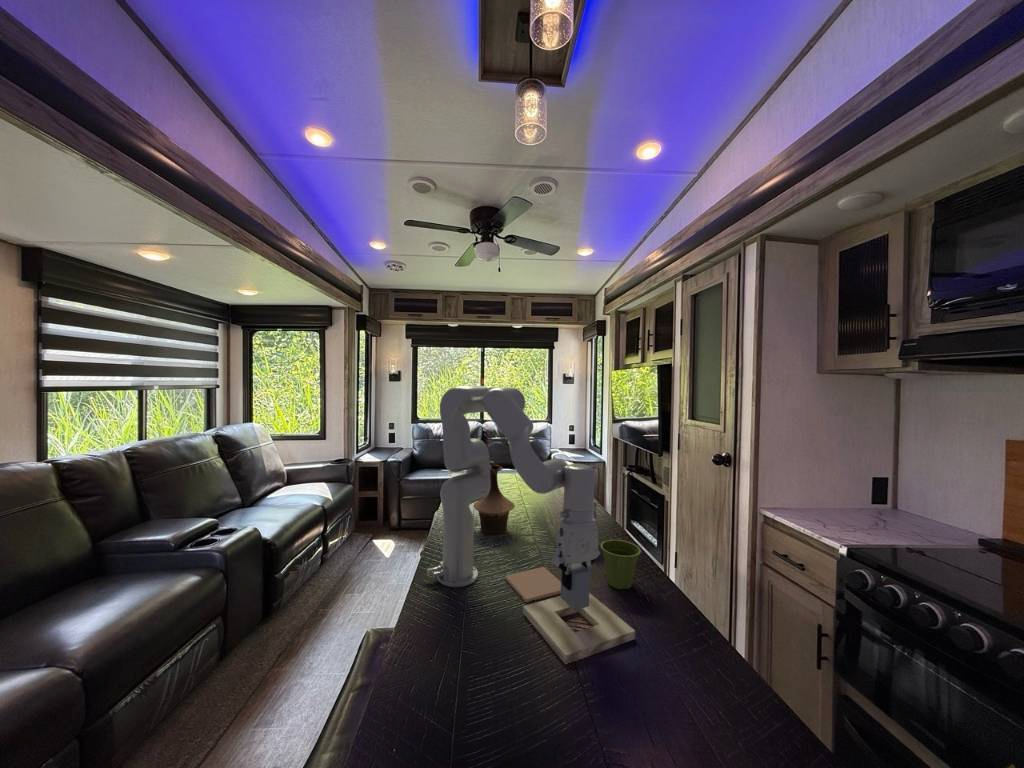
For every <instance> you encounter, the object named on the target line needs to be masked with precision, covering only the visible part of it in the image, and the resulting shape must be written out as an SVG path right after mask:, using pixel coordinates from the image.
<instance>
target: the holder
mask: <svg viewBox="0 0 1024 768" xmlns="http://www.w3.org/2000/svg"><path fill="white" fill-rule="evenodd" d="M560 596H561V595H558V596H554V597H551V598H547V599H545V600H541V601H537V602H533V603H529V604H526V605H522V606H523V607H522V614H523V615H524V617H525V618H526V617H527V618H526V619H527V620H528V621H529V623H531V625H532V626H533V627H534V628H535V629H536V631H537V632H538V633H539V634H540V636H541V637H542V638H543V639H544V641H545V642H546V643H547V644H548V646H550V648H551V649H552V651H554V652H555V654H556V655H557V656H558V658H559V659H560V660H561V661H562V662H563V664H564V665H565V664H566V665H569V664H571V662H572V663H574V662H576V661H579V659H580V660H582V659H585V658H587V657H591V656H592V655H595V654H596V655H597V654H598V653H601V652H603V651H606V650H609V649H612V648H615V647H617V646H620V645H622V644H625V643H627V642H630V641H633V640H635V639H636V630H635V629H634V628H633V627H632V626H630V625H629V624H628V623H626V622H625V621H624V620H623V619H622V618H620V617H619V615H617V614H616V613H614V612H613V611H612V610H611V609H609V608H608V607H607V606H606V604H604V603H602V602H601V601H600V600H599V599H597V598H596V597H595V596H594V595H592V594H591V593H590V592H589V606H588V607H585V608H581V609H578V610H573V609H572V608H571V607H570V606H569V605H568V604H567V603H566V602H565V601H564V600H563V599H562V598H561V597H560ZM576 613H578V614H579V615H581V616H582V617H583V618H584V619H585V620H586V621H587V622H588V623H589V624H590V625H591V627H588V628H584V629H581V630H578V631H576V632H575V631H574V630H573V629H572V628H571V627H570V626H569V625H568V624H567V623H566V622H565V620H563V619H562V617H563V618H564V617H566V616H569V615H574V614H576ZM568 663H569V664H568Z"/></svg>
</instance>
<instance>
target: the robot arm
mask: <svg viewBox="0 0 1024 768" xmlns="http://www.w3.org/2000/svg"><path fill="white" fill-rule="evenodd" d="M525 406H526V399H525V396H524V393H522V391H521V390H519V389H518V388H515V387H506V386H505V387H503V386H492V385H491V386H489V385H459V386H454V387H452V388H449V389H448V390H446V391H445V392H444V394H443V395H442V397H441V399H440V403H439V416H440V420H441V426H442V448H443V462H444V465H445V468H446V470H448V471H449V472H451V473H460V472H463V471H466V473H462V474H459V475H455V476H453V477H450V478H448V479H447V480H445V481H444V482H443V484H441V488H440V494H439V495H440V500H441V501H440V502H441V506H442V513H443V514H442V518H443V519H442V520H443V521H442V523H443V524H442V528H443V529H442V533H443V534H442V560H441V561H439V565H436V566H433V567H428V568H427V569H426V574H427V576H431V575H433V578H437V580H438V582H439V584H441V585H443V586H446V587H449V588H450V587H452V588H462V587H466V586H469V585H472V584H474V583H475V582H476V580H478V577H479V570H478V569H477V567H475V566H474V550H475V549H474V548H475V547H474V543H475V542H474V541H475V540H474V539H475V525H474V524H475V520H474V519H475V518H474V516H473V515H474V514H473V512H472V511H471V508H470V505H472V504H474V503H476V502H477V501H479V500H481V499H483V498H485V497H486V496H487V495H488V493H489V491H490V485H491V481H490V461H491V460H490V451H489V449H488V446H487V445H486V443H485V442H484V441H483V440H481V438H474V437H472V438H471V427H470V424H469V421H468V419H467V418H466V416H465V415H466V414H475V413H478V414H479V413H487V415H488V416H489V418H490V419H491V420H492V421H493V423H494V424H495V425H496V427H497V428H498V430H499V431H500V432H501V433H502V435H503V437H504V438H506V440H507V442H508V445H509V446H508V447H509V454H510V455H509V456H510V457H511V458H510V459H511V463H512V465H513V467H514V469H515V471H516V472H517V473H518V475H519V476H520V477H521V479H522V480H523V482H524V483H525V484H526V486H528V488H529V489H531V491H533V492H535V493H536V494H541V495H543V494H544V495H545V494H548V493H551V492H553V491H554V490H557V489H561V488H563V505H562V511H559V514H558V515H559V517H560V522H559V526H558V531H557V539H556V552H555V553H554V555H553V556H552V558H551V560H550V562H551V563H552V564H553V565H554V566H555V567H558V568H559V569H560V571H562V585H563V586H564V587H565V588H566V589H567V590H571V580H572V575H571V574H570V571H571V566H572V564H577V563H581V564H582V565H583V566H585V567H586V568H587V569H589V570H590V571H591V570H592V565H593V564H594V563H595V561H596V559H597V558H599V556H600V555H601V551H600V549H599V536H598V535H599V534H598V527H597V521H596V520H595V519H594V518H593V507H594V501H595V500H594V499H595V483H596V482H595V477H596V473H595V469H594V468H593V466H591V465H589V464H583V463H574V462H572V461H571V462H570V461H569V460H566V459H562V458H559V457H557V458H556V457H555V458H551V459H548V460H545V461H542V460H541V459H540V457H539V456H538V455H537V454H536V452H535V451H534V449H533V448H532V445H531V441H530V440H531V439H530V435H531V434H532V432H533V430H534V423H533V422H532V420H531V419H530V417H528V415H527V414H526V413H525V411H524V409H525ZM560 560H561V561H560ZM566 564H567V565H566ZM565 566H566V567H565Z"/></svg>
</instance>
